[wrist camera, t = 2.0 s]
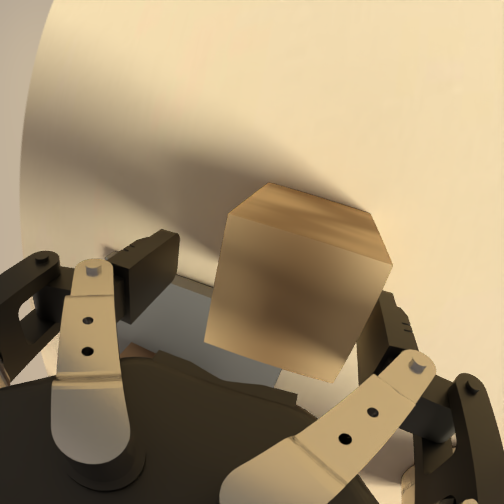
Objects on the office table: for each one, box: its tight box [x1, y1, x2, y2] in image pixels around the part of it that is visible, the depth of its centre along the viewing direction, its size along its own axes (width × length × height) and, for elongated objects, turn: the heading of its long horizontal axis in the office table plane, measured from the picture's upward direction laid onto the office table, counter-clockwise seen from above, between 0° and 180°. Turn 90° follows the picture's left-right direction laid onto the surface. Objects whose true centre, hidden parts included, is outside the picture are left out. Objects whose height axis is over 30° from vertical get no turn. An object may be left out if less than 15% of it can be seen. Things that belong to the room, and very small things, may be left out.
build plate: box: [105, 252, 282, 388], centre depth 20 cm, size 12×14×1 cm
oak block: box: [204, 182, 393, 383], centre depth 12 cm, size 5×5×6 cm
